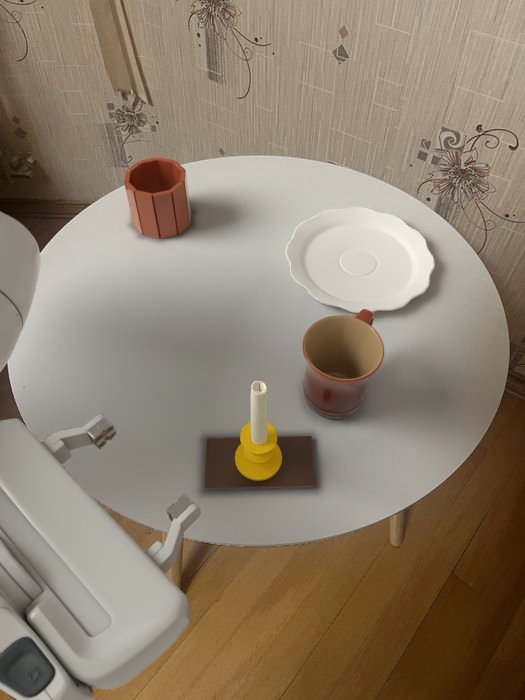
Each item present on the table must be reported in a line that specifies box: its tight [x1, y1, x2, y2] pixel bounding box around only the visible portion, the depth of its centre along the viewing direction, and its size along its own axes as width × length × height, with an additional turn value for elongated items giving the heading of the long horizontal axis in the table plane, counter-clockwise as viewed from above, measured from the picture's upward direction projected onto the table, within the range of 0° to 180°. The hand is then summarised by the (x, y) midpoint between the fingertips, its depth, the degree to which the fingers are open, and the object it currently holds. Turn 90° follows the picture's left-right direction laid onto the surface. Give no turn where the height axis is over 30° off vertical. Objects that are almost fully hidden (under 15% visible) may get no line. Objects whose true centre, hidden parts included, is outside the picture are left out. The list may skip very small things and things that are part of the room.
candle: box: [235, 380, 282, 481], centre depth 57 cm, size 5×5×16 cm
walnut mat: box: [204, 435, 316, 491], centre depth 63 cm, size 12×6×1 cm, turn 92°
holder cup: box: [123, 156, 192, 240], centre depth 84 cm, size 9×9×8 cm
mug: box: [301, 309, 385, 420], centre depth 65 cm, size 12×9×10 cm
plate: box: [284, 206, 436, 314], centre depth 81 cm, size 21×21×2 cm
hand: (149, 461), depth 42 cm, fingers open, 8 cm apart
